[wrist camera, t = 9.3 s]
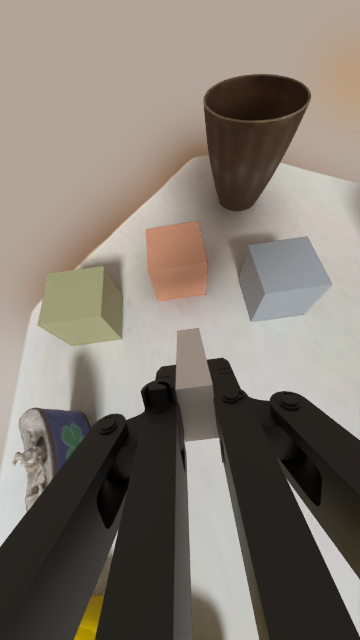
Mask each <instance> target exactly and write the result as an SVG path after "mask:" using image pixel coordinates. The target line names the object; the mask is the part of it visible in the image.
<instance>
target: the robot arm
mask: <svg viewBox="0 0 360 640" xmlns="http://www.w3.org/2000/svg"><path fill="white" fill-rule="evenodd" d="M141 394H142V398H143V402H144V406H145V411H144V412H143V413H142V414H140V415H138V416H136V417H133V418H131V419H128V420H126V419H125V417H124V416H123V415H121V414H110V415H107V416H105V417H103V418H101V419H100V420H98V421H97V422H96V423H95V424H94V425H93V427H92V428H91V429H90V431H89V432H88V433H87V435H86V436H85V437H84V438H83V440H82V441H81V442H80V444H79V445H78V446H77V448H76V449H75V450H74V452H73V453H72V454H71V455H70V457H69V458H68V459H67V461H66V462H65V463H64V465H63V466H62V467H61V468H60V470H59V471H58V472H57V474H56V475H55V476H54V478H53V479H52V480H51V482H50V483H49V484H48V485H47V487H46V488H45V489H44V491H43V492H42V493H41V495H40V496H39V497H38V498H37V500H36V501H35V502H34V504H33V505H32V506H31V508H30V509H29V510H28V512H27V513H26V514H25V515H24V517H23V518H22V519H21V521H20V522H19V523H18V525H17V526H16V527H15V528H14V530H13V531H12V532H11V534H10V535H9V536H8V538H7V539H6V540H5V542H4V543H3V544H2V545H1V547H0V640H74V638H75V636H76V633H77V631H78V628H79V626H80V623H81V621H82V618H83V616H84V613H85V611H86V608H87V606H88V603H89V601H90V598H91V596H92V593H93V591H94V588H95V586H96V583H97V581H98V578H99V576H100V573H101V571H102V568H103V566H104V564H105V561H106V559H107V556H108V554H109V551H110V549H111V546H112V544H113V541H114V539H115V536H116V534H117V531H118V535H117V540H116V544H115V549H114V553H113V558H112V563H111V567H110V572H109V576H108V581H107V586H106V590H105V595H104V599H103V604H102V609H101V613H100V618H99V622H98V627H97V632H96V636H95V640H193V635H192V606H191V577H190V548H189V519H188V490H187V461H186V449H185V444H184V438H185V442H186V441H195V440H203V439H212V438H219V439H220V447H221V455H222V463H224V468H225V472H226V477H227V482H228V487H229V492H230V497H231V502H232V507H233V512H234V517H235V522H236V527H237V532H238V537H239V541H240V546H241V551H242V556H243V561H244V566H245V571H246V576H247V581H248V586H249V591H250V596H251V601H252V605H253V610H254V615H255V620H256V625H257V630H258V635H259V640H360V636H359V634H358V632H357V630H356V628H355V626H354V624H353V621H352V619H351V617H350V615H349V613H348V611H347V608H346V606H345V604H344V602H343V600H342V598H341V596H340V593H339V591H338V589H337V587H336V585H335V583H334V580H333V578H332V576H331V574H330V572H329V570H328V568H327V565H326V563H325V561H324V559H323V557H322V555H321V552H320V550H319V548H318V546H317V544H316V542H315V540H314V537H313V535H312V533H311V531H310V529H309V527H308V524H307V522H306V520H305V518H304V516H303V514H302V512H301V509H300V507H299V505H298V503H297V501H296V499H295V496H294V494H293V492H292V490H291V488H290V486H289V484H288V481H289V483H290V484H291V485H292V487H293V488H294V489H295V491H296V492H297V494H298V495H299V496H300V498H301V499H302V500H303V502H304V503H305V505H306V506H307V507H308V509H309V510H310V511H311V513H312V514H313V516H314V517H315V518H316V520H317V521H318V522H319V524H320V525H321V527H322V528H323V529H324V531H325V532H326V533H327V535H328V536H329V538H330V539H331V540H332V542H333V543H334V544H335V546H336V547H337V549H338V550H339V551H340V553H341V554H342V555H343V557H344V558H345V560H346V561H347V562H348V564H349V565H350V566H351V568H352V569H353V571H354V572H355V573H356V575H357V576H358V577H359V579H360V440H359V439H357V438H356V437H355V436H353V435H352V434H351V433H350V432H348V431H347V430H346V429H344V428H343V427H342V426H341V425H339V424H338V423H337V422H335V421H334V420H333V419H332V418H330V417H329V416H328V415H326V414H325V413H324V412H323V411H321V410H320V409H319V408H317V407H316V406H315V405H314V404H312V403H311V402H310V401H308V400H307V399H306V398H304V397H303V396H301V395H299V394H297V393H293V392H287V391H282V392H277V393H275V394H273V395H272V396H271V398H270V401H264V400H257V399H253V398H250V397H248V395H247V394H246V393H245V391H243V390H241V389H240V386H239V384H238V382H237V380H236V377H235V375H234V373H233V370H232V368H231V366H230V364H229V362H228V361H227V360H226V359H224V358H217V359H210V360H206V356H205V352H204V348H203V343H202V339H201V335H200V331H199V328H195V329H188V330H181V331H177V357H176V365H171V366H163V367H161V368H160V369H159V370H158V371H157V374H156V379H155V381H152V382H150V383H148V384H147V385H145V386H144V387H143V389H142V390H141ZM286 478H287V479H286ZM287 480H288V481H287ZM118 529H119V530H118Z"/></svg>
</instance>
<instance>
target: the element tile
mask: <svg viewBox="0 0 360 640" xmlns="http://www.w3.org/2000/svg"><path fill="white" fill-rule="evenodd" d="M103 599H104V596H102V595H96V596H92V597H91V598H90V601H89V603H88V606H87V608H86V611H85V613H84V616H83V618H82V621H81V623H80V626H79V628H78V631H77V633H76V636H75V638H74V640H95V636H96V632H97V627H98V622H99V618H100V613H101V609H102V604H103Z"/></svg>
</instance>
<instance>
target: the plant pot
mask: <svg viewBox="0 0 360 640" xmlns="http://www.w3.org/2000/svg"><path fill="white" fill-rule="evenodd" d="M310 99H311V93H310V91H309V90H308V88H307V87H306V86H305V85H304V84H302V83H301V82H299V81H297V80H294V79H292V78H288V77H284V76H278V75H271V74H253V75H245V76H238V77H234V78H230V79H227V80H224V81H222V82H219V83H218V84H216V85H214V86H213V87H212V88H210V89H209V90H208V91H207V92H206V94H205V96H204V112H205V123H206V134H207V143H208V151H209V157H210V163H211V169H212V174H213V178H214V183H215V186H216V190H217V194H218V197H219V200H220V203H221V204H222V206H224V207H225V208H227V209H229V210H233V211H241V210H246V209H248V208H250V207H251V206H252V205H253V204H254V203H255V202H256V200H257V199H258V197H259V196H260V194H261V193H262V192H263V190H264V189H265V187H266V185H267V184H268V182H269V181H270V179H271V177H272V176H273V174H274V172H275V171H276V169H277V167H278V165H279V164H280V162H281V160H282V158H283V156H284V154H285V152H286V150H287V149H288V147H289V145H290V143H291V141H292V139H293V137H294V135H295V133H296V131H297V128H298V126H299V124H300V122H301V120H302V118H303V115H304V113H305V111H306V109H307V107H308V104H309V102H310Z"/></svg>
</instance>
